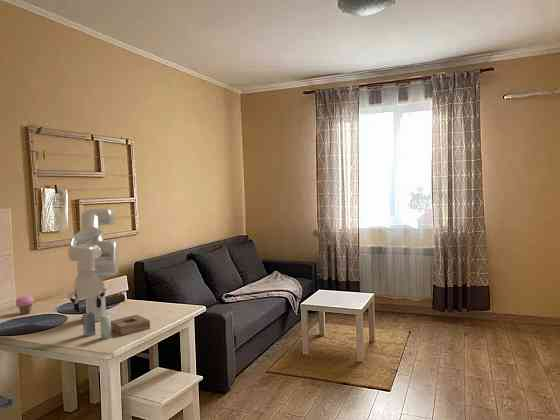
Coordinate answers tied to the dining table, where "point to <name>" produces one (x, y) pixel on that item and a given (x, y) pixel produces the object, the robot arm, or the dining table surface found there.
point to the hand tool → (115, 299)
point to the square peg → (89, 324)
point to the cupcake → (24, 304)
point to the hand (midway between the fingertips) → (88, 309)
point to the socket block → (130, 325)
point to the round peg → (105, 326)
